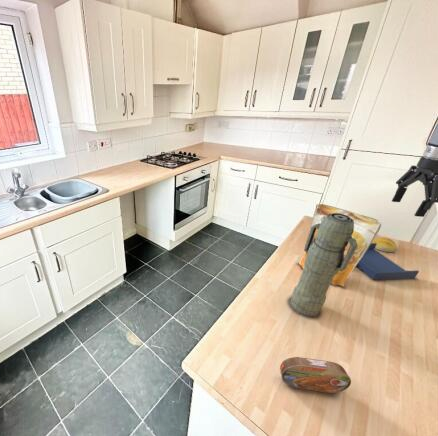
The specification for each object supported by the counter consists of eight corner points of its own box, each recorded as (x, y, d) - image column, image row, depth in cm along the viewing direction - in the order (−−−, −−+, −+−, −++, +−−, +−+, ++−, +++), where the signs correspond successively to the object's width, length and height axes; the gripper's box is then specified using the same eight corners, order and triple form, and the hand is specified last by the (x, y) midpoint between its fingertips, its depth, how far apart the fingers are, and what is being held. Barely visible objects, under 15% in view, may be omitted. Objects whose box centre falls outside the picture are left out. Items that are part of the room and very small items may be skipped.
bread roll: (369, 247, 112) (372, 240, 110) (374, 240, 117) (377, 233, 115) (392, 255, 106) (396, 248, 105) (397, 247, 111) (401, 240, 109)
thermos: (315, 325, 77) (359, 230, 60) (280, 300, 86) (310, 213, 69) (329, 312, 81) (374, 221, 64) (294, 290, 90) (325, 205, 73)
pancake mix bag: (300, 258, 106) (321, 200, 92) (352, 284, 92) (385, 219, 78) (292, 264, 103) (312, 205, 89) (344, 291, 89) (377, 226, 75)
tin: (278, 384, 62) (286, 365, 58) (275, 372, 64) (282, 353, 60) (344, 396, 59) (358, 376, 55) (338, 382, 62) (350, 363, 58)
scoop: (372, 249, 111) (375, 243, 109) (414, 278, 94) (419, 271, 92) (317, 251, 110) (320, 245, 109) (350, 281, 93) (353, 274, 92)
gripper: (400, 149, 102) (378, 195, 112) (452, 167, 81) (418, 222, 91) (421, 150, 101) (396, 197, 111) (480, 168, 79) (442, 224, 90)
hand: (406, 208), depth 101 cm, fingers open, 13 cm apart
